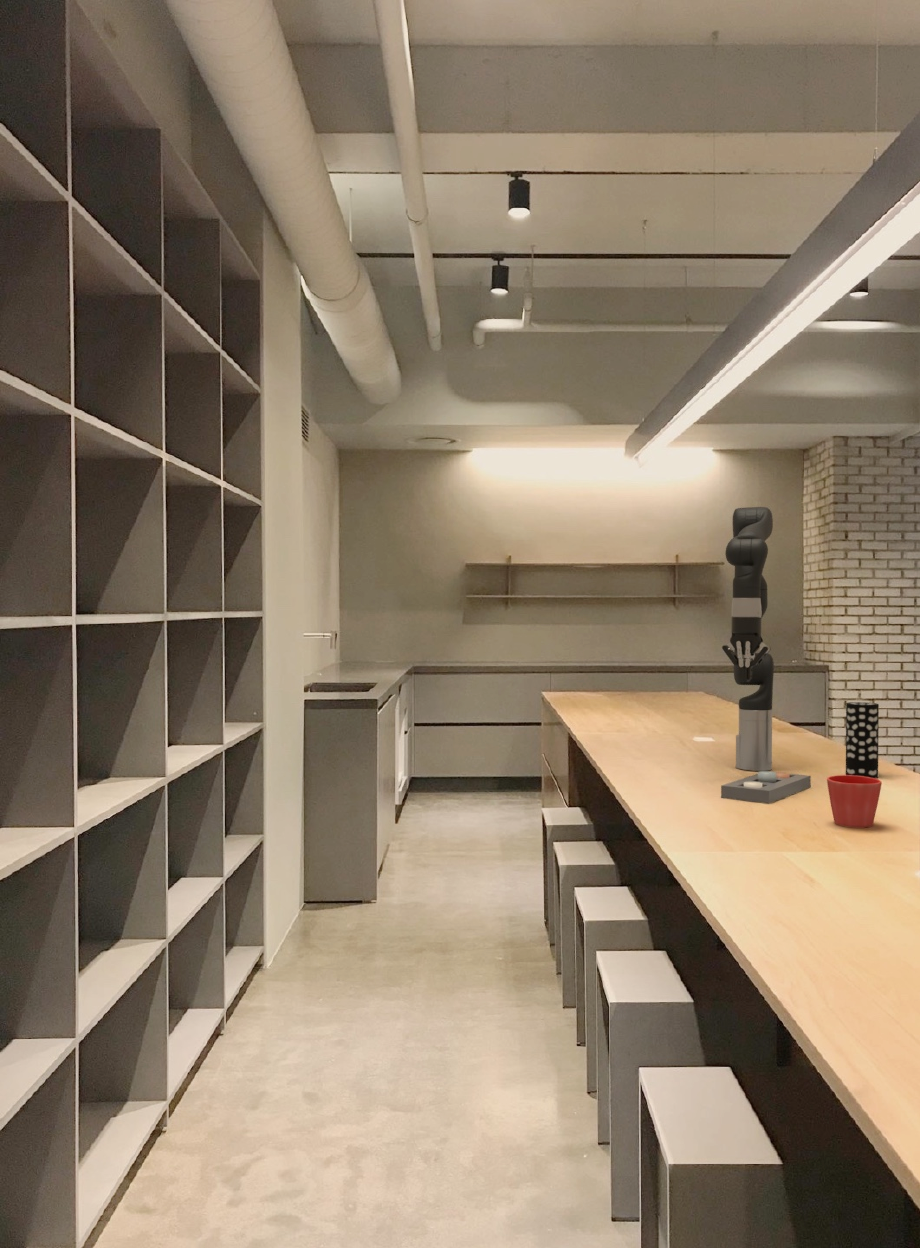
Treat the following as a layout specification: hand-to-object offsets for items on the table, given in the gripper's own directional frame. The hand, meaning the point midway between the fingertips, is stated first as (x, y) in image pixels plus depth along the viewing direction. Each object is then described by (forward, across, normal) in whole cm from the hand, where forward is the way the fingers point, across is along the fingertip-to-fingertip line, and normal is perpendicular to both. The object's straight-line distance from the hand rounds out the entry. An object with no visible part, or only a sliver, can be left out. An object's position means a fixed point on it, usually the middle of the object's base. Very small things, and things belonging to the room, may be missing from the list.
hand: (746, 681), depth 269 cm
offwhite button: (+26, +9, -17) cm, 33 cm away
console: (+27, +9, -8) cm, 30 cm away
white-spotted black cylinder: (+27, +20, +32) cm, 47 cm away
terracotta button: (+26, +9, +1) cm, 28 cm away
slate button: (+25, +9, -8) cm, 28 cm away
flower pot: (+27, +38, -33) cm, 57 cm away
